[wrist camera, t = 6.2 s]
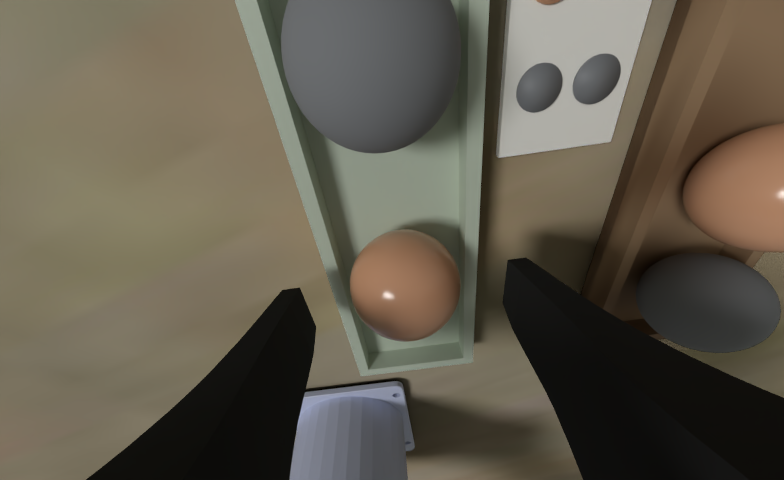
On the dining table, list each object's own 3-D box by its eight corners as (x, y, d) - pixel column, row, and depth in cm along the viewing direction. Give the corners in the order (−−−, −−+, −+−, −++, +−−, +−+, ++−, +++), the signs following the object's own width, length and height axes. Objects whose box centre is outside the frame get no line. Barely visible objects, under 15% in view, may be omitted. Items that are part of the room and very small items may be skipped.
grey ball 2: (683, 295, 15) (775, 367, 11) (604, 305, 15) (672, 379, 11) (723, 228, 12) (853, 293, 9) (630, 241, 12) (723, 310, 9)
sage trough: (553, 327, 16) (567, 350, 15) (361, 351, 17) (360, 376, 15) (700, -206, 6) (781, -270, 5) (217, -121, 7) (180, -162, 5)
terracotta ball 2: (736, 208, 12) (879, 269, 8) (638, 221, 12) (740, 287, 9) (800, 102, 10) (1028, 128, 6) (678, 119, 10) (839, 155, 6)
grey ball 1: (443, 123, 9) (481, 163, 6) (323, 141, 9) (295, 189, 6) (439, -44, 7) (494, -128, 4) (283, -18, 7) (204, -79, 4)
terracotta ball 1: (447, 281, 13) (473, 357, 10) (362, 292, 13) (359, 373, 10) (445, 203, 11) (478, 268, 8) (343, 218, 11) (331, 288, 8)
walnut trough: (678, 312, 16) (704, 334, 15) (570, 325, 16) (587, 348, 15) (1034, -264, 6) (1205, -347, 5) (747, -214, 6) (839, -280, 5)
